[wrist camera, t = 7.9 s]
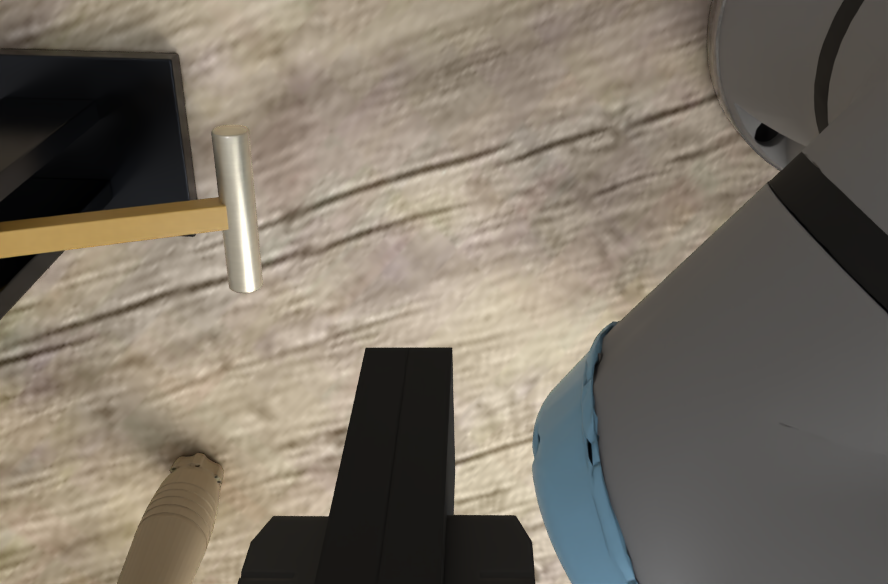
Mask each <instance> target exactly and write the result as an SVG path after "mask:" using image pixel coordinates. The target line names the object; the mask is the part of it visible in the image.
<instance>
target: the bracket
mask: <svg viewBox="0 0 888 584" xmlns="http://www.w3.org/2000/svg"><path fill="white" fill-rule="evenodd" d="M190 200H197V195H196V187H195V180H194V172H193V164H192V156H191V148H190V140H189V133H188V125H187V117H186V109H185V101H184V93H183V86H182V78H181V70H180V62H179V55H178V54H177V53H143V52H107V51H72V50H36V49H0V222H6V221H15V220H24V219H32V218H41V217H50V216H59V215H67V214H76V213H85V212H94V211H102V210H111V209H120V208H129V207H138V206H146V205H155V204H164V203H173V202H181V201H190ZM195 235H196V234H189V235H181V236H190V237H194V236H195ZM64 251H65V250H63V251H55V252H47V253H39V254H31V255H23V256H15V257H7V258H0V320H1V319H2V318H3V316H4V315H5V314H6V313H7V312H8V311H9V310H10V309H11V308H12V307H13V306H14V305H15V304H16V302H17V301H18V300H19V299H20V298H21V297H22V296H23V295H24V294H25V293H26V292H27V291H28V290H29V288H30V287H31V286H32V285H33V284H34V283H35V282H36V281H37V280H38V279H39V278H40V277H41V276H42V274H43V273H44V272H45V271H46V270H47V269H48V268H49V267H50V266H51V265H52V264H53V263H54V262H55V260H56V259H57V258H58V257H59V256H60V255H61V254H62V253H63V252H64Z"/></svg>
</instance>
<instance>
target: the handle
mask: <svg viewBox="0 0 888 584" xmlns="http://www.w3.org/2000/svg"><path fill="white" fill-rule="evenodd" d="M170 472H171V474H170V475H168V476H167V478H166V479H165V480H164V481H163V483H162V484H161V486H160V487H159V489H158V490H157V492H156V493H155V495H154V497H153V498H152V500H151V502H150V504H149V505H148V507H147V509H146V511H145V513H144V515H143V517H142V520H141V522H140V524H139V526H138V529H137V531H136V533H135V536H134V539H133V542H132V544H131V547H130V550H129V552H128V555H127V558H126V561H125V563H124V566H123V569H122V571H121V574H120V577H119V580H118V582H117V584H192V581H193V579H194V577H195V575H196V572H197V570H198V568H199V566H200V563H201V561H202V559H203V556H204V554H205V551H206V549H207V546H208V543H209V540H210V537H211V534H212V531H213V527H214V524H215V520H216V516H217V511H218V506H219V499H220V487H221V486H220V484H222V480H223V474H224V472H223V468H222V467H221V466H220V465H219V464H218V463H214V462H212V461H211V460H209V459H208V458H207V457H206V456H205V454H201V453H196V454H195V455H193V456H189V457H184V456H182V457H180V458H178V459H177V460H176V461H175V463H174V464H173V465H172V467H171V469H170Z"/></svg>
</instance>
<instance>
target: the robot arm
mask: <svg viewBox="0 0 888 584" xmlns="http://www.w3.org/2000/svg"><path fill="white" fill-rule="evenodd" d="M707 56H708V65H709V71H710V76H711V80H712V84H713V87H714V90H715V93H716V96H717V98H718V101H719V103H720V105H721V107H722V109H723V111H724V113H725V114H726V116H727V118H728V120H729V121H730V122H731V124H732V125H733V126H734V128H735V129H736V131H737V132H738V133H739V134H740V135H741V136H742V137H743V139H744V140H745V141H746V142H747V143H748V144H749V145H750V146H751V147H752V148H753V150H754V151H755V152H756V153H757V154H758V155H760V156H761V157H762V158H763V159H764V160H765V161H766V162H768V163H769V164H771V165H772V166H774V167H775V168H776V169H778V170H779V171H780V172H779V173H778V174H777V175H776V176H775V177H774V178H773V179H772V180H770V181H769V182H768V183H767V184H766V185H764V186H763V187H762V188H761V189H760V190H759V191H758V192H757V193H756V194H755V195H754V196H753V197H752V198H751V199H750V200H748V201H747V202H746V203H745V204H744V205H743V206H742V207H741V208H740V209H739V210H738V211H737V212H736V213H735V214H734V215H733V216H731V217H730V218H729V219H728V220H727V221H726V222H725V223H724V224H723V225H722V226H721V227H720V228H719V229H718V230H717V231H715V232H714V233H713V234H712V235H711V236H710V237H709V238H708V239H707V240H706V241H705V242H704V243H703V244H702V245H701V246H699V247H698V248H697V249H696V250H695V251H694V252H693V253H692V254H691V255H690V256H689V257H688V258H687V259H686V260H685V261H684V262H682V263H681V264H680V265H679V266H678V267H677V268H676V269H675V270H674V271H673V272H672V273H671V274H670V275H669V276H668V277H666V278H665V279H664V280H663V281H662V282H661V283H660V284H659V285H658V286H657V287H656V288H655V289H654V290H653V291H652V292H650V293H649V294H648V295H647V296H646V297H645V298H644V299H643V300H642V301H641V302H640V303H639V304H638V305H637V306H636V307H635V308H633V309H632V310H631V311H630V312H629V313H628V314H627V315H626V316H625V317H624V318H623V319H622V320H621V321H618V322H612V323H610V324H609V325H608V326H606V327H605V328H604V329H603V330H602V331H601V332H600V333H599V334H598V336H597V337H596V338H595V340H594V342H593V345H592V347H591V349H590V351H589V352H588V353H587V354H586V355H585V356H584V357H583V358H582V359H581V360H580V361H579V362H578V364H577V365H576V366H575V367H574V368H573V369H572V370H571V371H570V372H569V373H568V374H567V375H566V376H565V377H564V378H563V379H562V380H561V381H560V382H559V384H558V385H557V386H556V387H555V388H554V389H553V390H552V391H551V392H550V394H549V395H548V396H547V398H546V399H545V401H544V403H543V405H542V406H541V409H540V411H539V413H538V416H537V419H536V422H535V426H534V432H533V446H532V448H533V453H534V461H533V465H532V472H533V480H534V485H535V491H536V496H537V501H538V504H539V508H540V512H541V515H542V518H543V521H544V524H545V527H546V530H547V533H548V535H549V538H550V540H551V543H552V545H553V547H554V550H555V552H556V554H557V556H558V558H559V560H560V562H561V564H562V566H563V568H564V570H565V572H566V574H567V576H568V578H569V580H570V581H571V583H572V584H888V0H712V3H711V8H710V12H709V20H708V28H707ZM454 488H455V446H454V403H453V360H452V348H366V349H365V353H364V358H363V362H362V367H361V372H360V376H359V381H358V385H357V390H356V395H355V399H354V404H353V408H352V413H351V418H350V422H349V427H348V431H347V436H346V440H345V445H344V450H343V454H342V459H341V463H340V468H339V473H338V477H337V482H336V486H335V491H334V496H333V500H332V505H331V509H330V514H329V516H273V517H272V518H271V519H270V521H269V522H268V523H267V524H266V525H265V526H264V528H263V529H262V530H261V531H260V532H259V533H258V534H257V536H256V537H255V538H254V539H253V540H252V541H251V543H250V547H249V550H248V553H247V556H246V559H245V562H244V565H243V568H242V572H241V578H239V581H238V584H535V577H534V560H533V547H532V541H531V539H530V538H529V536H528V535H527V533H526V531H525V530H524V528H523V527H522V525H521V523H520V522H519V520H518V519H517V517H516V516H514V515H454Z"/></svg>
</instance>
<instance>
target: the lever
mask: <svg viewBox="0 0 888 584" xmlns="http://www.w3.org/2000/svg"><path fill="white" fill-rule="evenodd" d="M211 133H212V142H213V151H214V160H215V168H216V177H217V186H218V195H219V197H216V198H208V199H199V200H190V201H181V202H173V203H164V204H155V205H146V206H138V207H129V208H120V209H111V210H102V211H94V212H85V213H76V214H67V215H59V216H50V217H41V218H32V219H24V220H15V221H6V222H0V258H7V257H15V256H23V255H31V254H39V253H47V252H55V251H63V250H71V249H78V248H86V247H94V246H102V245H110V244H118V243H126V242H134V241H142V240H150V239H158V238H165V237H173V236H181V235H189V234H197V233H205V232H213V231H221V230H223V239H224V247H225V256H226V265H227V274H228V282H229V288H230V289H231V290H232V291H234V292H237V293H250V292H254V291H257V290H258V289H260V288H261V287H262V285H263V279H262V268H261V257H260V246H259V235H258V224H257V214H256V203H255V192H254V181H253V170H252V159H251V148H250V137H249V130H248V128H247V127H245V126H241V125H223V126H219V127H216V128H214V129H213V130H212V132H211Z"/></svg>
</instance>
